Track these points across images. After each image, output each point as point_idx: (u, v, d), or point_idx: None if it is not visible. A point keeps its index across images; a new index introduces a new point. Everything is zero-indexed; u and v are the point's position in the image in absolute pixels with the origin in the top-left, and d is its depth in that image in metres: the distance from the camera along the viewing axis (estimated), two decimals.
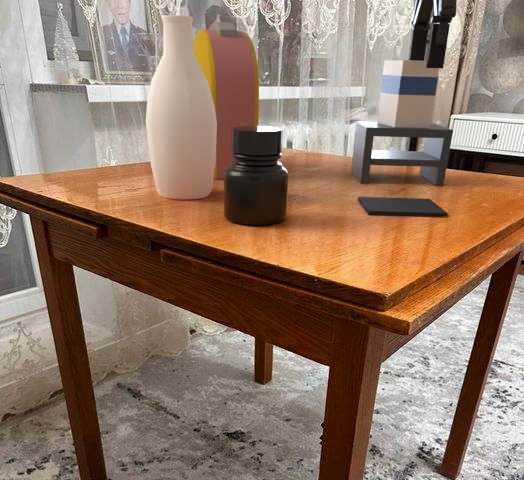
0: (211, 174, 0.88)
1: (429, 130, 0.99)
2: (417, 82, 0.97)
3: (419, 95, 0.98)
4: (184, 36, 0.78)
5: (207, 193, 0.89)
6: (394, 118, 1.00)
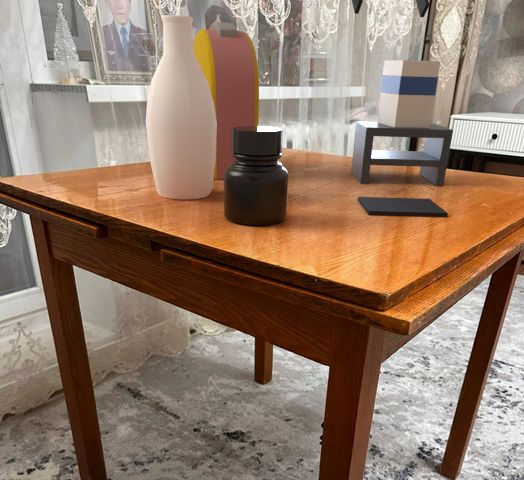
0: (211, 174, 0.88)
1: (429, 130, 0.99)
2: (417, 82, 0.97)
3: (419, 95, 0.98)
4: (184, 36, 0.78)
5: (207, 193, 0.89)
6: (394, 118, 1.00)
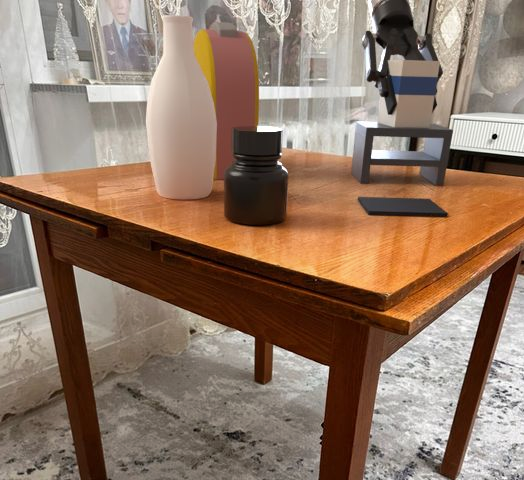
0: (211, 174, 0.88)
1: (429, 130, 0.99)
2: (417, 82, 0.97)
3: (419, 95, 0.98)
4: (184, 36, 0.78)
5: (207, 193, 0.89)
6: (394, 118, 1.00)
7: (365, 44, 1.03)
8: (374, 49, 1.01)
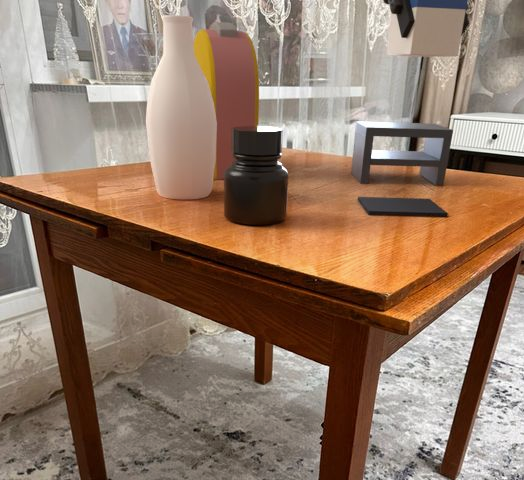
0: (211, 174, 0.88)
1: (429, 130, 0.99)
2: None
3: (445, 8, 0.72)
4: (184, 36, 0.78)
5: (207, 193, 0.89)
6: (410, 41, 0.73)
7: None
8: None
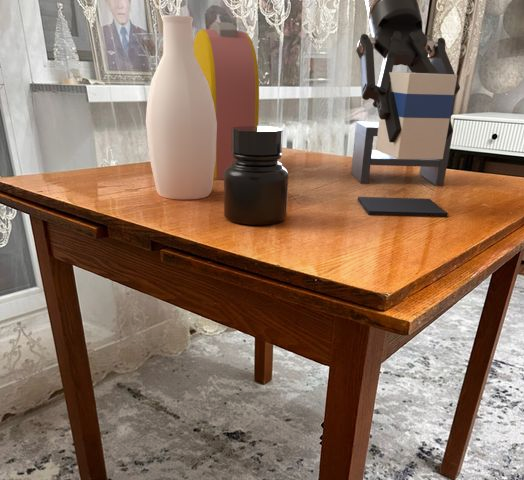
0: (211, 174, 0.88)
1: None
2: (428, 101, 0.75)
3: (430, 118, 0.76)
4: (184, 36, 0.78)
5: (207, 193, 0.89)
6: (397, 147, 0.77)
7: (361, 51, 0.81)
8: (372, 58, 0.79)
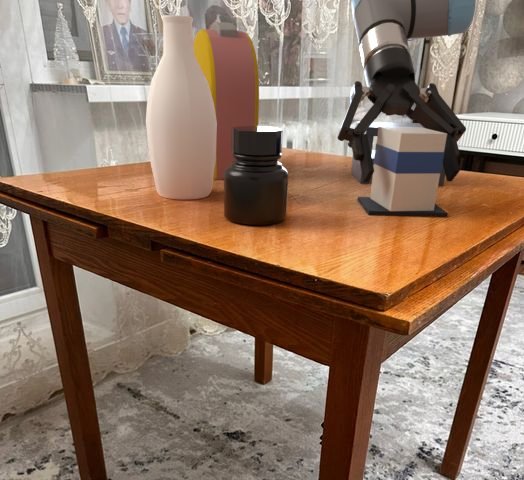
0: (211, 174, 0.88)
1: None
2: (419, 158, 0.78)
3: (421, 173, 0.79)
4: (184, 36, 0.78)
5: (207, 193, 0.89)
6: (390, 200, 0.81)
7: (352, 96, 0.85)
8: (357, 104, 0.82)
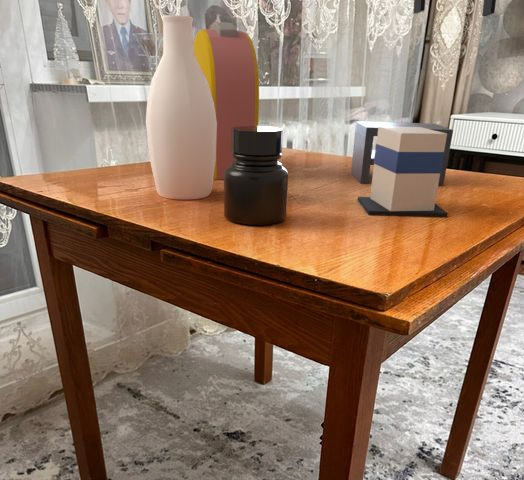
0: (211, 174, 0.88)
1: None
2: (419, 158, 0.78)
3: (421, 173, 0.79)
4: (184, 36, 0.78)
5: (207, 193, 0.89)
6: (390, 200, 0.81)
7: None
8: None
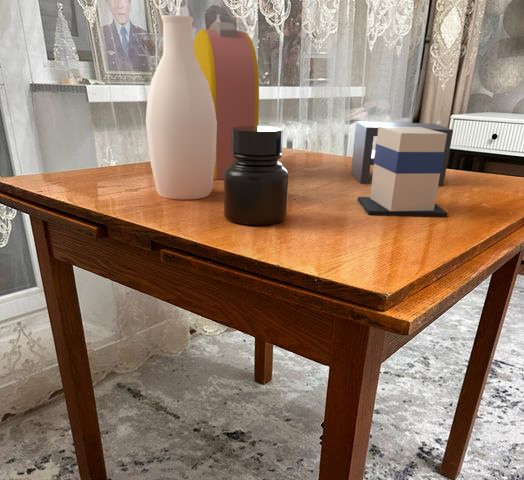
0: (211, 174, 0.88)
1: None
2: (419, 158, 0.78)
3: (421, 173, 0.79)
4: (184, 36, 0.78)
5: (207, 193, 0.89)
6: (390, 200, 0.81)
7: None
8: None
